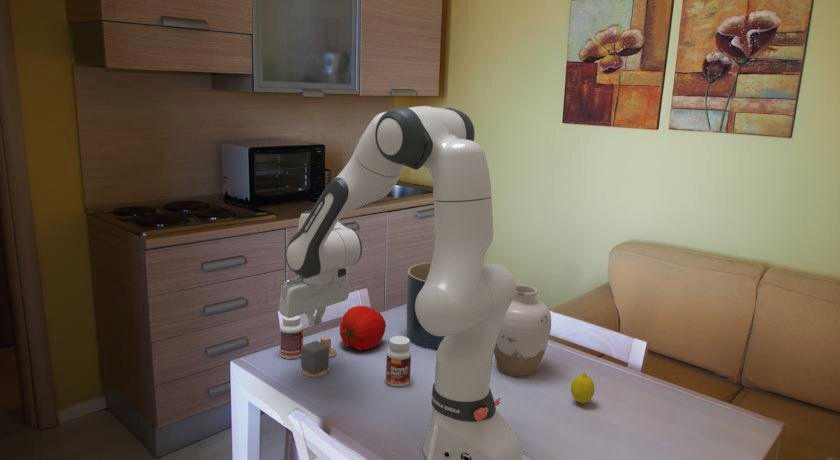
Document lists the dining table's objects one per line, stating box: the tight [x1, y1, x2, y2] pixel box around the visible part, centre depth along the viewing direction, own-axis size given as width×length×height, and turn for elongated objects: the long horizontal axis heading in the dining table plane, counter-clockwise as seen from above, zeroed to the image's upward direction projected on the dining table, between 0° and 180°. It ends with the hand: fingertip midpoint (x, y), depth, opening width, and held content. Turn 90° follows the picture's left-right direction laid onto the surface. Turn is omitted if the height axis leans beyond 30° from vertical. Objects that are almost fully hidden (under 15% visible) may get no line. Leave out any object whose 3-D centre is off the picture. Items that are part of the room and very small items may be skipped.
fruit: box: [570, 372, 595, 405], centre depth 146 cm, size 6×6×8 cm
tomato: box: [338, 305, 387, 351], centre depth 173 cm, size 13×13×13 cm
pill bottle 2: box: [385, 335, 412, 387], centre depth 153 cm, size 6×6×11 cm
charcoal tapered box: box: [300, 340, 330, 374], centre depth 156 cm, size 5×5×6 cm
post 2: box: [319, 336, 337, 359], centre depth 167 cm, size 6×6×4 cm
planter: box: [405, 261, 445, 351], centre depth 181 cm, size 22×22×20 cm
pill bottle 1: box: [279, 315, 304, 360], centre depth 165 cm, size 6×6×11 cm
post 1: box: [300, 368, 330, 379], centre depth 156 cm, size 7×7×6 cm
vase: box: [493, 284, 552, 378], centre depth 161 cm, size 16×16×23 cm
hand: (315, 324), depth 154 cm, fingers closed
